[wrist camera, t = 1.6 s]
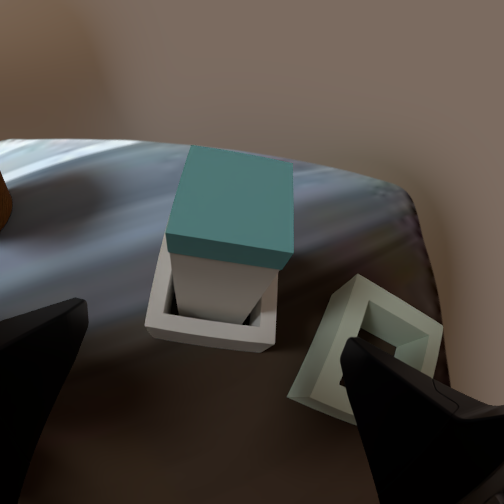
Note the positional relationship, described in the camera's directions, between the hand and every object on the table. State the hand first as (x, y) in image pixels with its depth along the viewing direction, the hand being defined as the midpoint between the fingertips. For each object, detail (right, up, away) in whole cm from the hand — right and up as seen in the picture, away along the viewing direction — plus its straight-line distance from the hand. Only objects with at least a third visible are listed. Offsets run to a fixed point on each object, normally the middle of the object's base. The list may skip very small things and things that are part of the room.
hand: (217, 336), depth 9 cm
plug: (-2, -1, +13) cm, 13 cm away
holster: (-2, -1, +13) cm, 13 cm away
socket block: (+10, -7, +13) cm, 17 cm away
